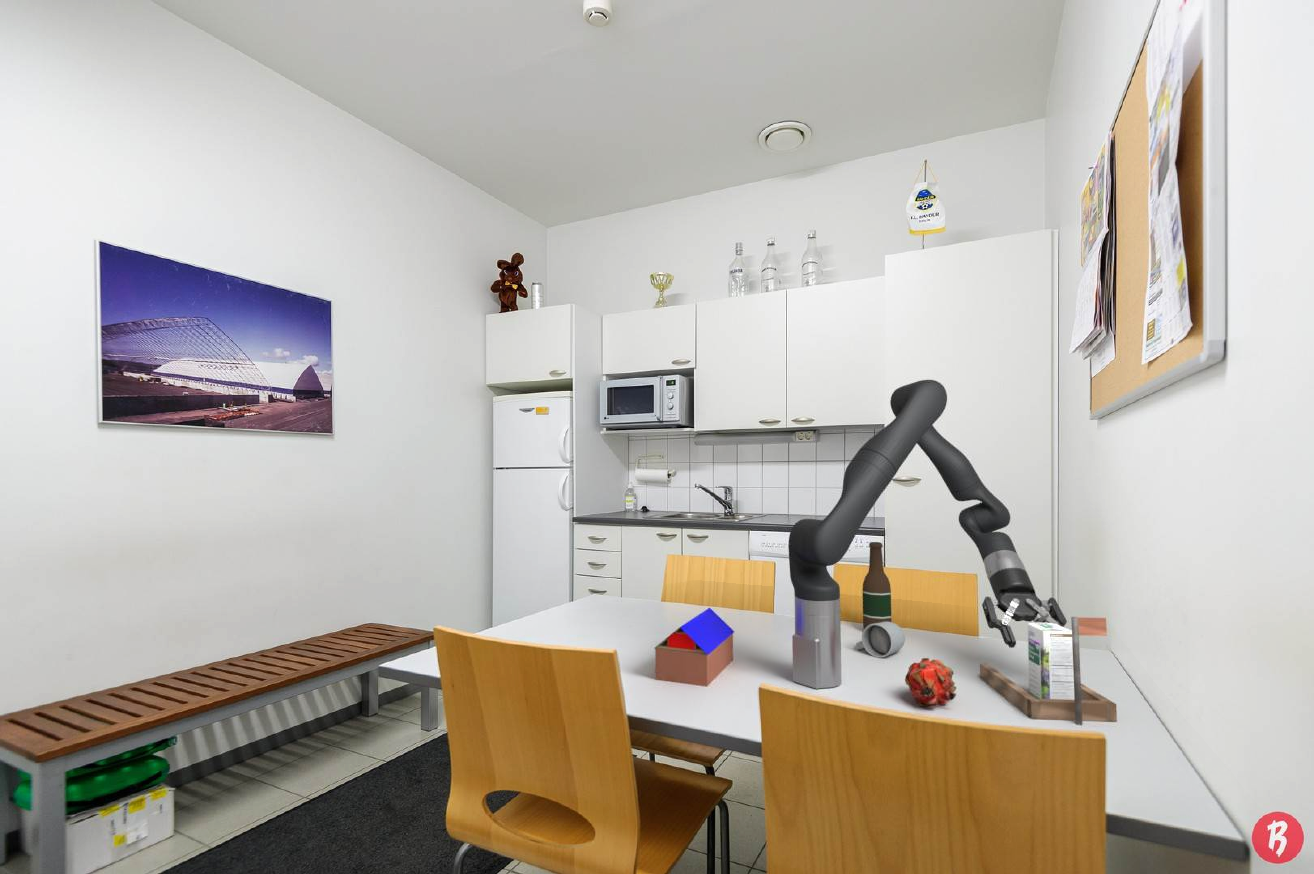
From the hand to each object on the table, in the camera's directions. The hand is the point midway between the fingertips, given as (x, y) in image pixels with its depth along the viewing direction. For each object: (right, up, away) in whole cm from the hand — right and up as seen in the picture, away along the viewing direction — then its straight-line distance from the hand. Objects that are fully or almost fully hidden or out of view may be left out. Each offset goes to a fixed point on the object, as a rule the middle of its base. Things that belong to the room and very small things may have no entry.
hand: (1036, 646), depth 123 cm
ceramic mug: (-21, -11, +28) cm, 37 cm away
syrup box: (-1, -9, -6) cm, 11 cm away
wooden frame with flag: (0, -9, -3) cm, 10 cm away
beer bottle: (-14, -12, +47) cm, 51 cm away
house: (-65, -11, +16) cm, 68 cm away
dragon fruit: (-22, -9, -5) cm, 25 cm away
